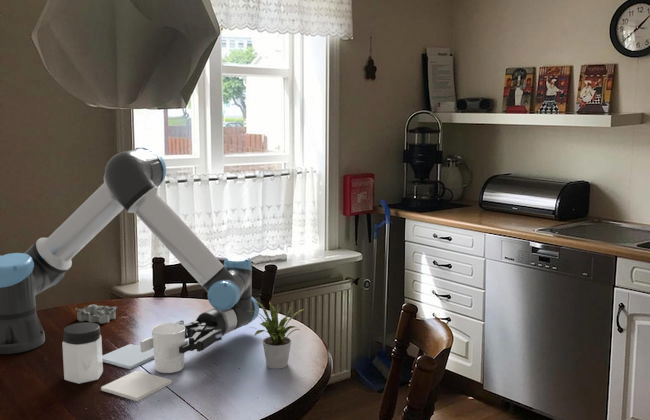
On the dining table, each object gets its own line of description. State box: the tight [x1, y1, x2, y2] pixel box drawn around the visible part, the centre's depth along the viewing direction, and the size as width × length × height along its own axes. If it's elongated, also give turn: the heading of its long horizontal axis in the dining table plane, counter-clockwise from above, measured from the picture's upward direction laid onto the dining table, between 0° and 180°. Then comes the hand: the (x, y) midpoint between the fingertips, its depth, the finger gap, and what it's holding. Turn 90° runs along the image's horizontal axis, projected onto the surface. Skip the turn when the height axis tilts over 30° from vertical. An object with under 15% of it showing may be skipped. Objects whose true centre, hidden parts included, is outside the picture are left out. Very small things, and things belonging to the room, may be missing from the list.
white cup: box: [151, 322, 186, 374], centre depth 168 cm, size 8×8×10 cm
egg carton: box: [74, 303, 118, 325], centre depth 206 cm, size 11×8×4 cm
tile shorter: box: [100, 370, 172, 402], centre depth 160 cm, size 11×11×1 cm
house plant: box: [249, 300, 305, 370], centre depth 172 cm, size 14×14×16 cm
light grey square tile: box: [102, 343, 155, 370], centre depth 177 cm, size 11×11×1 cm
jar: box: [61, 321, 104, 384], centre depth 164 cm, size 9×8×12 cm
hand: (154, 350), depth 164 cm, fingers closed on white cup, 8 cm apart
